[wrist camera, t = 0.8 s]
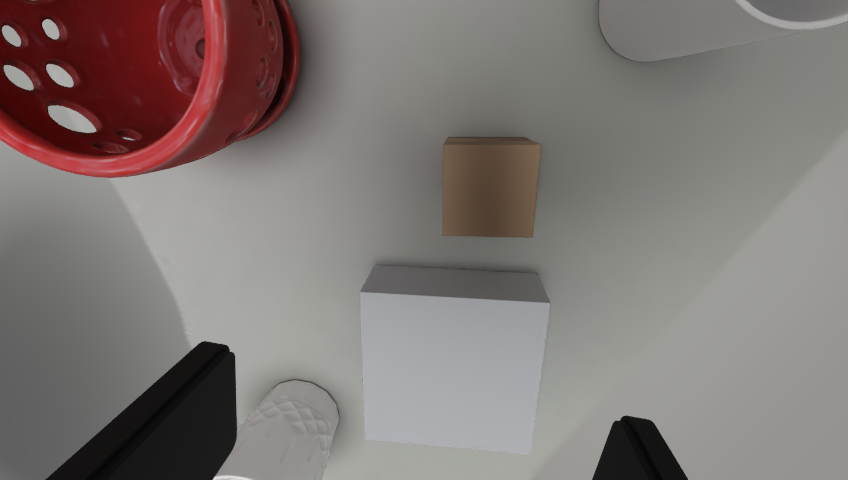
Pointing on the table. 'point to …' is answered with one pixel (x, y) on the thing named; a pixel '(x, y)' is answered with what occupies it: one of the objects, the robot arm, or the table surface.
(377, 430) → the grey block
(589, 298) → the table surface
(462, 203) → the walnut block
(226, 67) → the plant pot
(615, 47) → the mug
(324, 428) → the white cup
